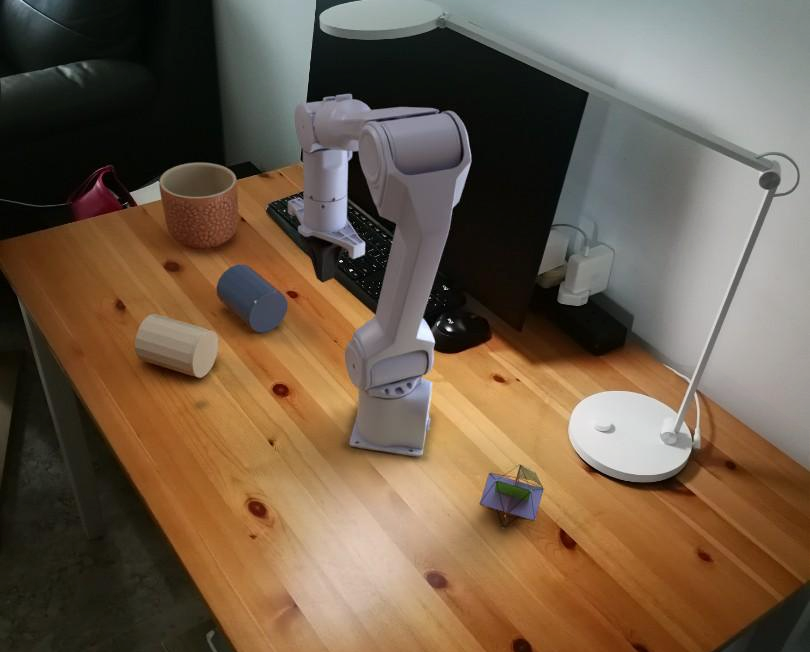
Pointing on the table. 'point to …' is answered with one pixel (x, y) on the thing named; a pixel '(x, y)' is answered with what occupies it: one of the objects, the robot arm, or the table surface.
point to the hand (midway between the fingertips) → (325, 278)
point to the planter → (200, 204)
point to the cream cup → (176, 345)
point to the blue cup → (252, 298)
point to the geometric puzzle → (513, 494)
